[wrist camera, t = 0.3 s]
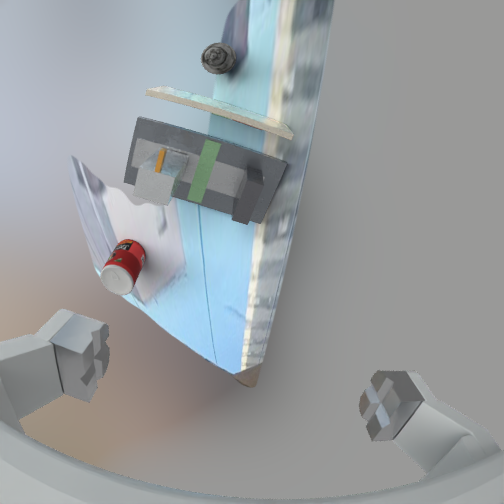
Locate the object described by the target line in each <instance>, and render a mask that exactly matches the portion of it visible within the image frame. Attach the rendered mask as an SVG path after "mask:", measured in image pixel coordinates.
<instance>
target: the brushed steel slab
mask: <svg viewBox="0 0 504 504" xmlns="http://www.w3.org/2000/svg"><path fill="white" fill-rule="evenodd" d="M188 158H189V156H187V155H184V154H180V153H177V152H174V151H170V150H167V149H165V148H159V149H157V150H156V151H155V152H154V153H153V154H152V155H151V156H150V157H149V158H148V159H147V160H146V161H145V162H144V163H143V164H142V165H141V166H140V167H139V169H138V174H137V179H136V184H135V189H134V194H133V195H134V196H136V197H140V198H143V199H146V200H150V201H153V202H157V203H160V204H163V205H166V206H168V204H169V202H170V201H171V199H172V197H173V195H174V193H175V191H176V190H177V188H178V186H179V184H180V182H181V181H182V178H183V175H184V172H185V168H186V165H187V161H188Z"/></svg>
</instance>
